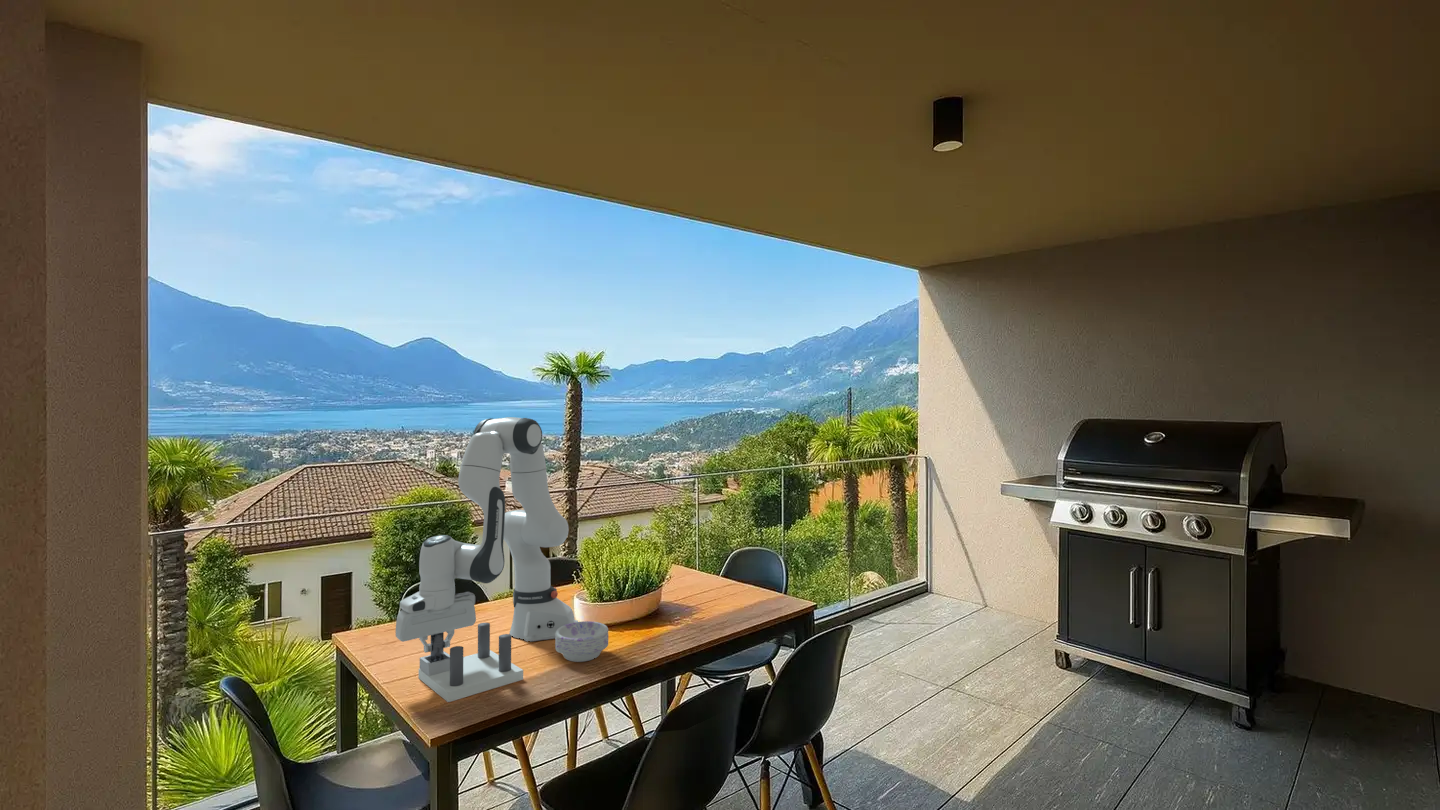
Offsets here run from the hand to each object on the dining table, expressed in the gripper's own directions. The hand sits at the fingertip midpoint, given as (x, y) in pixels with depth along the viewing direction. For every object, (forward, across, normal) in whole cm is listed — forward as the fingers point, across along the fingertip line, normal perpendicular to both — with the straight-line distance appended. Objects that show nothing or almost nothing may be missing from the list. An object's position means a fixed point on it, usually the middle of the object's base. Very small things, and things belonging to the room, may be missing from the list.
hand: (437, 649), depth 177 cm
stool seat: (+8, -6, +6) cm, 12 cm away
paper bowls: (+8, -37, +13) cm, 40 cm away
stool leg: (+5, 0, 0) cm, 5 cm away
